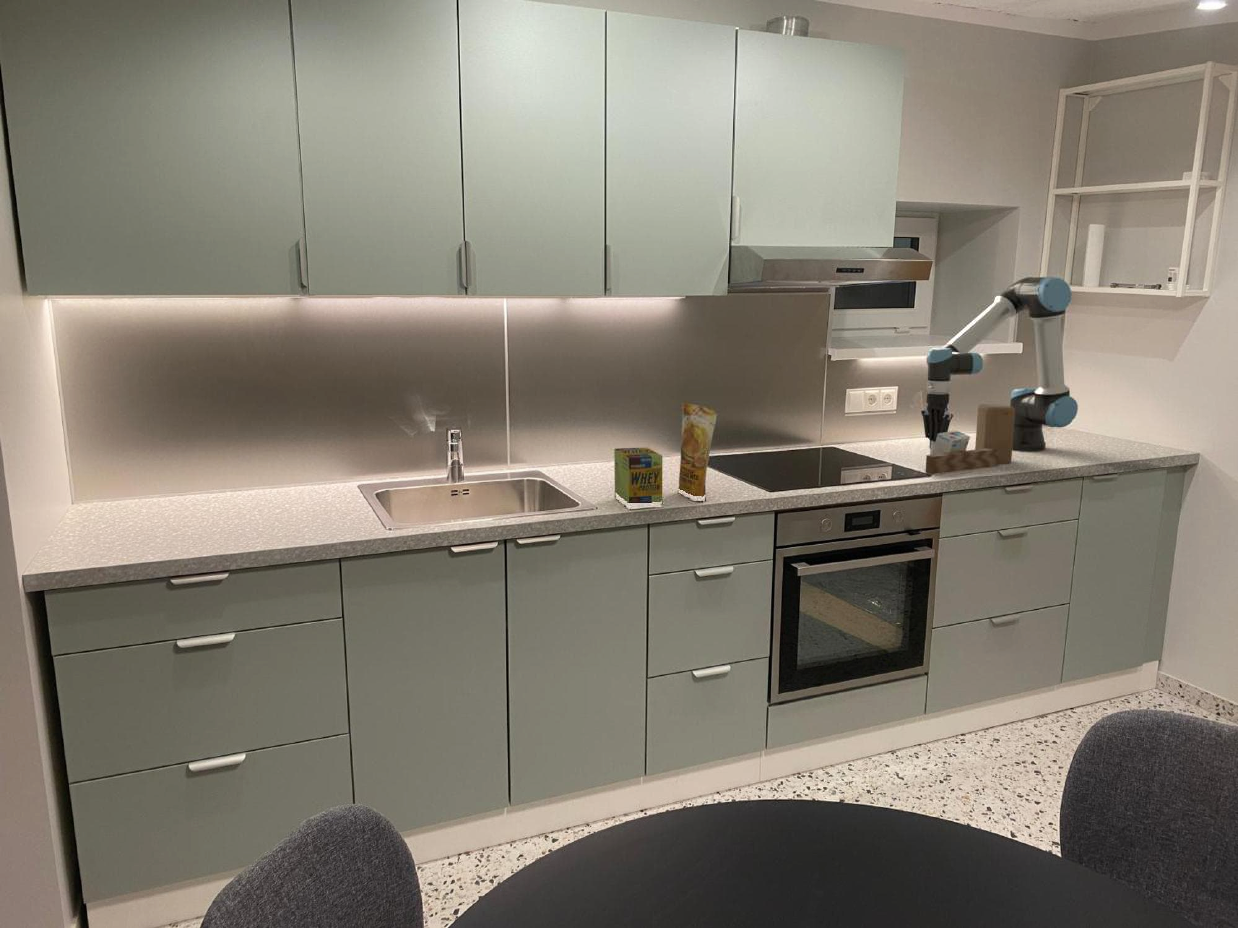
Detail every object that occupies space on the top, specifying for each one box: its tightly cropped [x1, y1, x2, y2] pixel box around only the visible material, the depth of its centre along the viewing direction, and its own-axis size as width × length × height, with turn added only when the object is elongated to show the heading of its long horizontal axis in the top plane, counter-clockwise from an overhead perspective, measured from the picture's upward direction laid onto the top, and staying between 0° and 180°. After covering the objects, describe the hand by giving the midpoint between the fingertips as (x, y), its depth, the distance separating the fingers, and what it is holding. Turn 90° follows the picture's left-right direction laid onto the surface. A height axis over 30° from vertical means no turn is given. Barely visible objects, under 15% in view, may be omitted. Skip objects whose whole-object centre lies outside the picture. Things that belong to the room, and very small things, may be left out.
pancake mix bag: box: [678, 402, 718, 497], centre depth 278 cm, size 7×19×28 cm, turn 21°
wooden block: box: [974, 403, 1015, 465], centre depth 328 cm, size 10×10×20 cm
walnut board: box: [925, 448, 999, 475], centre depth 316 cm, size 30×3×6 cm, turn 115°
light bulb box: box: [932, 429, 971, 455], centre depth 322 cm, size 11×7×11 cm, turn 129°
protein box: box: [613, 446, 663, 503], centre depth 272 cm, size 10×15×16 cm
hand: (934, 458), depth 328 cm, fingers closed
